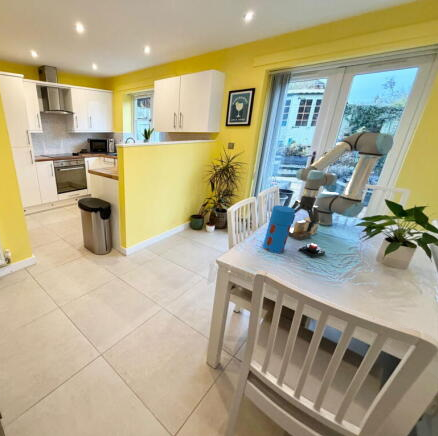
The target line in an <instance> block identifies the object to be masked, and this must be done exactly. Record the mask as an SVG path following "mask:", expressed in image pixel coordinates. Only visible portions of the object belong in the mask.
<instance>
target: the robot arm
mask: <svg viewBox="0 0 438 436" xmlns="http://www.w3.org/2000/svg"><path fill="white" fill-rule="evenodd" d="M393 145H394V137H393V135H392V134H390V133H385V132H357V133H353V134H351V135H348V136H346V137H345V138H342V139H341V140H339V141H338V142H337V143H336V144H335V146H334V147H333V148H331V149H330V150H329V151H327V152H326V153H324V154H323V155H322V156H320V158H318V159H317V160H315V161H314V162H313V163H311V164H310V165H309V166H307V167H306V168H299V169H298V170H297V171H296V173H295V178H296V179H297V180H300V181H303V182H305V185H304V188H303V190H302V195H301V197H300V200H295V201H294V203H293V205H292V206H291V207H290V208H293V209H294V210H295V214H294V217H293V221H292V224H291V225H293V224H294V220H295V218H296V214H297V213H298V212H299V211H301V210H302V211H305V212H307V214H308V217H307V218H309V217H310V220H311V222H309V225H308V228H307V231H306V232H310V231H311V228H312V227H314V224H315V223H318V222H319V221H320V224H319V226H332V225H333V222H334V221H333V214H334V213H335V214H337V215H340V216H343V217H346V218H351V219H352V218H355V217H357V216H358V215H359V214H361V213H362V211H363V210H364V208H365V203H364V202H363V197H362V194H363V192H364V190H365V188H366V185H367V183H368V181H369V179H370V177H371V175H372V172H373V170H374V168H375V166H376V163H377V162H378V160H379V159H381V158H382V157H384V155H386V154H389V153H390V151H391V150H392V148H393ZM351 152H358V153H357V155H358V157H359V158H358V161H357V163H356V165H355V167H354V170H353V172H352V174H351V175H350V179H349V181H348V184H347V185H346V189H345V190H344V192H343V193H341V194H340V193H338V192H331V191H321V192H320V193H319V191H320V187H328V186H333V185H335V184H336V183H337V182H338V176H337V174H335V173H334V172H333V173H332V172H325V171H324V170H325V169H327V168H328V167H330V166H331V165H332V164H334V163H335V162H336V161H338V160H339V159H341V158H342V157H343V156H344V155H348V154H350V153H351Z"/></svg>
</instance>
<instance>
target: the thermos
mask: <svg viewBox="0 0 438 436" xmlns="http://www.w3.org/2000/svg"><path fill="white" fill-rule="evenodd" d="M294 215H296V213H295V209H293V208H291V207H290V206H286V205H280V204H279V205H277V204H276V205H273V207H272V209H271V213H270V217H269V222H268V225H267V229H266V233H265V237H264V240H263V246H262V247H263V248H264V250H266V251H268V252H271V253H276V254H281V253H283V252H284V249H285V247H286V244H287V240H288V237H289V236H288V234H289V231H290V229H291V228H292V225H293V224H292V221H293V217H294ZM293 222H294V221H293Z"/></svg>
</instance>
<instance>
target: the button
mask: <svg viewBox="0 0 438 436" xmlns="http://www.w3.org/2000/svg"><path fill="white" fill-rule="evenodd" d="M309 244H310V246H309V247H311V248H314V249H317V247H319V245H318V244H317V243H314V242H312V243H309Z"/></svg>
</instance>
